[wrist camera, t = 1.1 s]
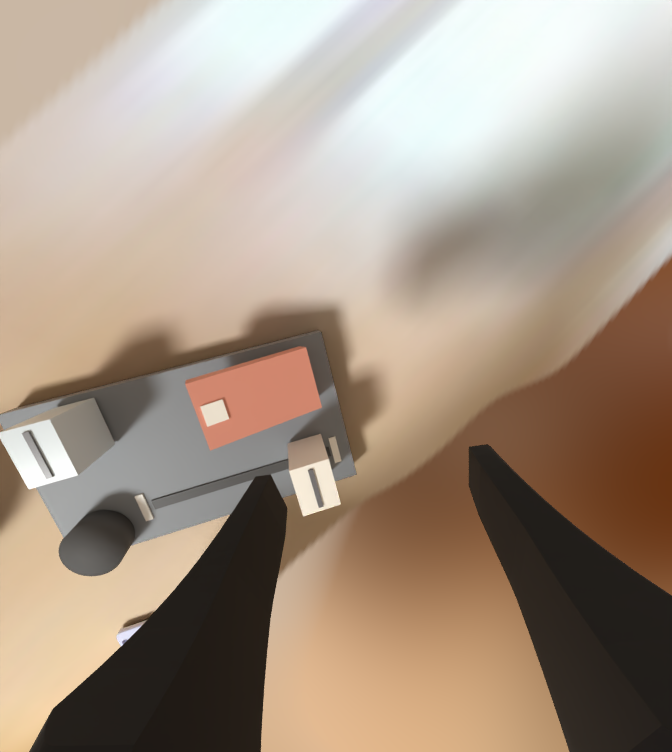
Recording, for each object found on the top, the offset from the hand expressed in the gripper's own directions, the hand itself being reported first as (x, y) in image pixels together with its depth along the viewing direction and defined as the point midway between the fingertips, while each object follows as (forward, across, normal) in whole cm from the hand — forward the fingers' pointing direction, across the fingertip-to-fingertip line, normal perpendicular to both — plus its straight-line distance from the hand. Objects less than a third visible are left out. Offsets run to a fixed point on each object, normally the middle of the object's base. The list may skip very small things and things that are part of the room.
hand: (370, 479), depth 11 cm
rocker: (+8, +7, 0) cm, 10 cm away
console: (+9, +12, +4) cm, 15 cm away
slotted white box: (+7, +17, 0) cm, 19 cm away
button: (+4, +19, +7) cm, 21 cm away
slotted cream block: (+8, +5, +7) cm, 12 cm away
